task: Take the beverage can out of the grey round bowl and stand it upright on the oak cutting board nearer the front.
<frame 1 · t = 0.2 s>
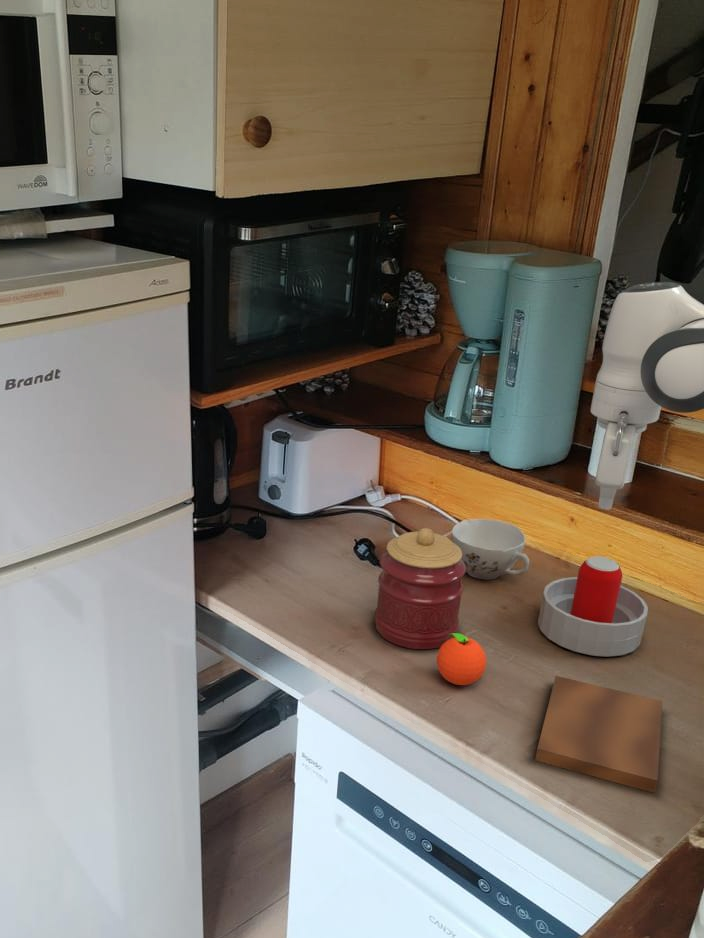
hand: (607, 495, 130), 25 cm above the counter, tool pointing down, fingers open, 8 cm apart
teacup: (488, 576, 161), on the counter
beverage can: (588, 631, 143), resting on grey round bowl
kitchen canister: (415, 630, 144), on the counter
cutting board: (599, 735, 120), on the counter
grey round bowl: (587, 632, 143), on the counter
clementine: (456, 680, 132), on the counter
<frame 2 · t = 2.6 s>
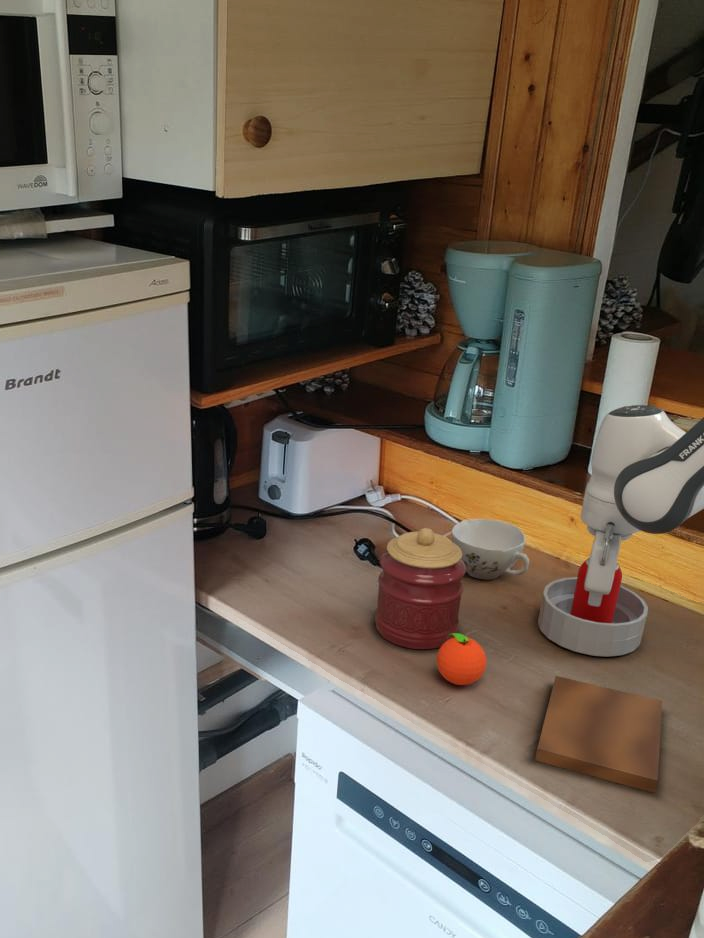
hand: (596, 593, 140), 7 cm above the counter, tool pointing down, fingers closed on beverage can, 6 cm apart
beverage can: (588, 631, 143), resting on grey round bowl, touching gripper
everything else where it was.
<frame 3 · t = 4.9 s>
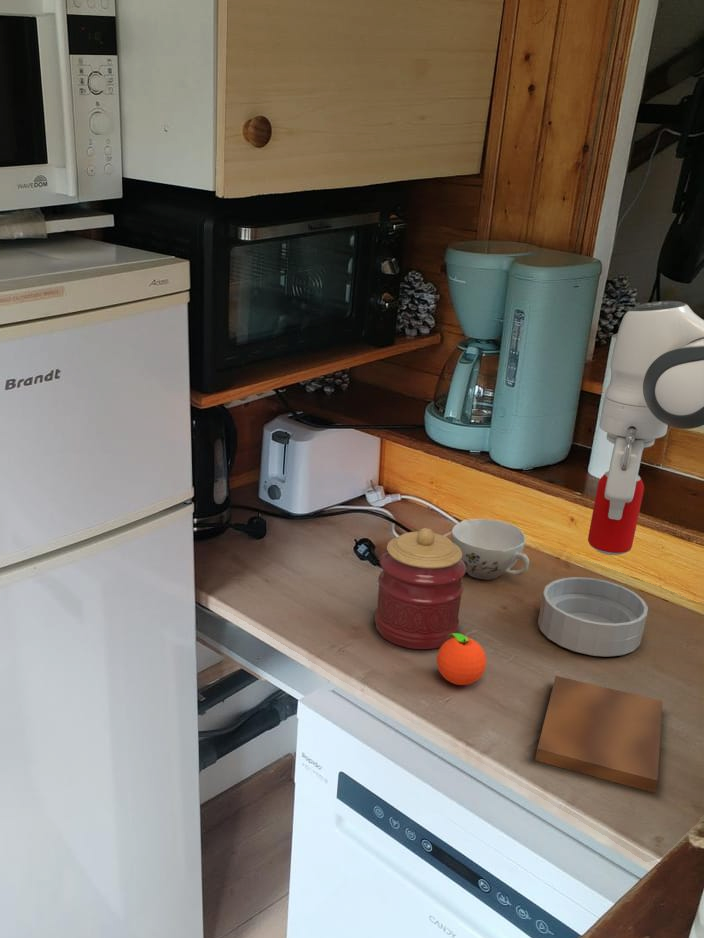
hand: (616, 508, 133), 22 cm above the counter, tool pointing down, fingers closed on beverage can, 6 cm apart
beverage can: (608, 550, 136), point 15 cm above the counter, touching gripper
everything else where it was.
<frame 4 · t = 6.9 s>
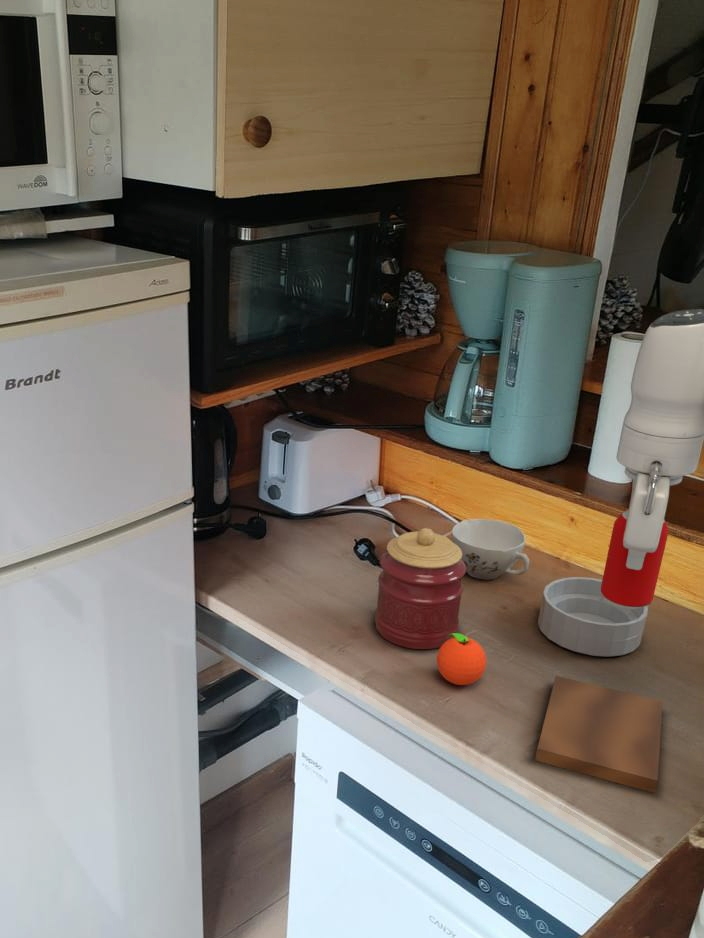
hand: (635, 554, 113), 25 cm above the counter, tool pointing down, fingers closed on beverage can, 6 cm apart
beverage can: (624, 602, 116), point 18 cm above the counter, touching gripper
everything else where it was.
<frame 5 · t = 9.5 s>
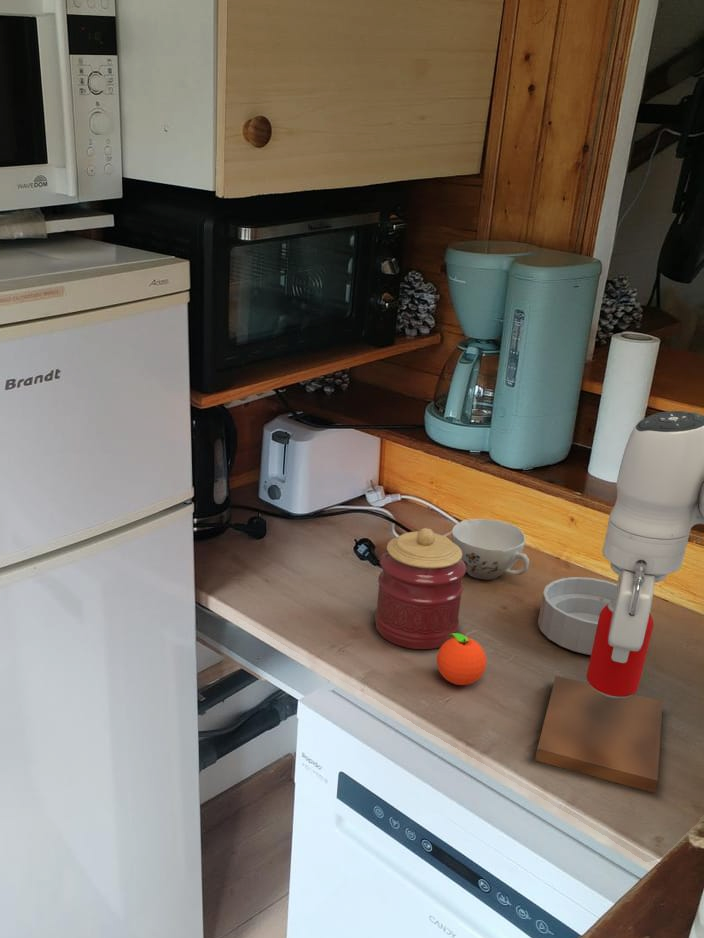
hand: (620, 644, 114), 14 cm above the counter, tool pointing down, fingers closed on beverage can, 6 cm apart
beverage can: (610, 689, 117), point 7 cm above the counter, touching gripper
everything else where it was.
when the fingers open (9 cm above the counter, at t = 11.4 s): beverage can stays where it is, resting on cutting board.
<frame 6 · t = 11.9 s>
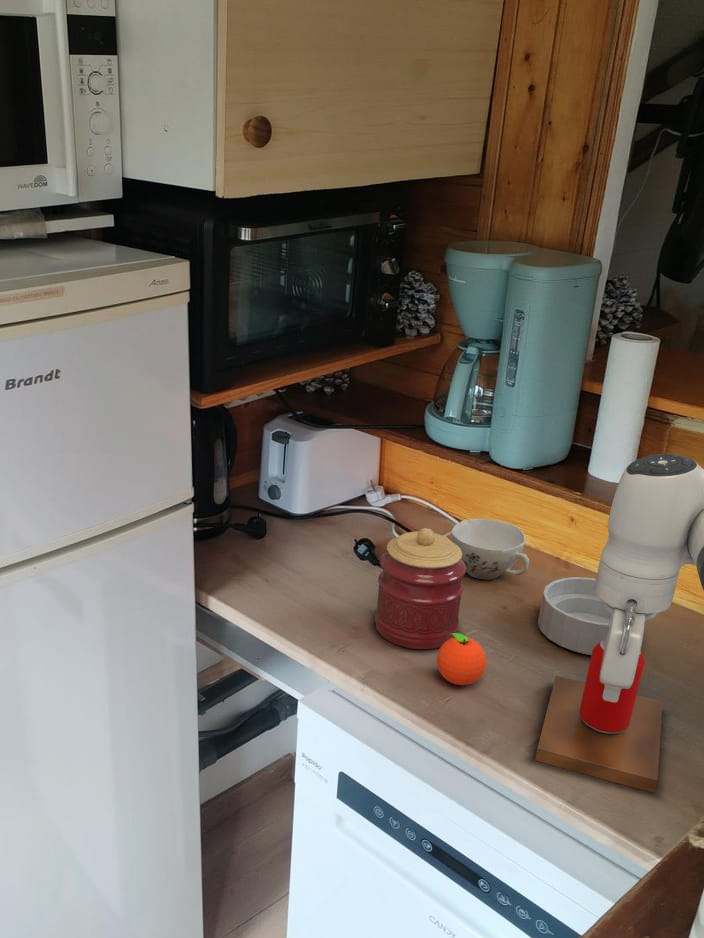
hand: (612, 679, 116), 9 cm above the counter, tool pointing down, fingers open, 8 cm apart
beverage can: (602, 724, 119), point 2 cm above the counter, touching cutting board
everything else where it was.
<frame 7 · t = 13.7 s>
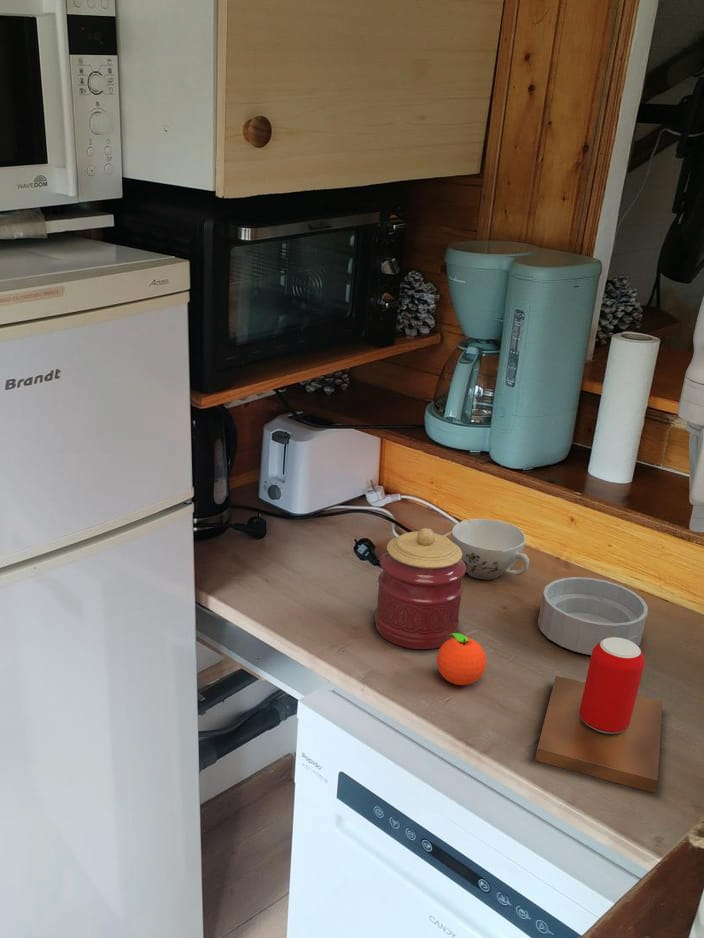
hand: (696, 514, 110), 31 cm above the counter, tool pointing down, fingers open, 8 cm apart
nothing on the counter moved.
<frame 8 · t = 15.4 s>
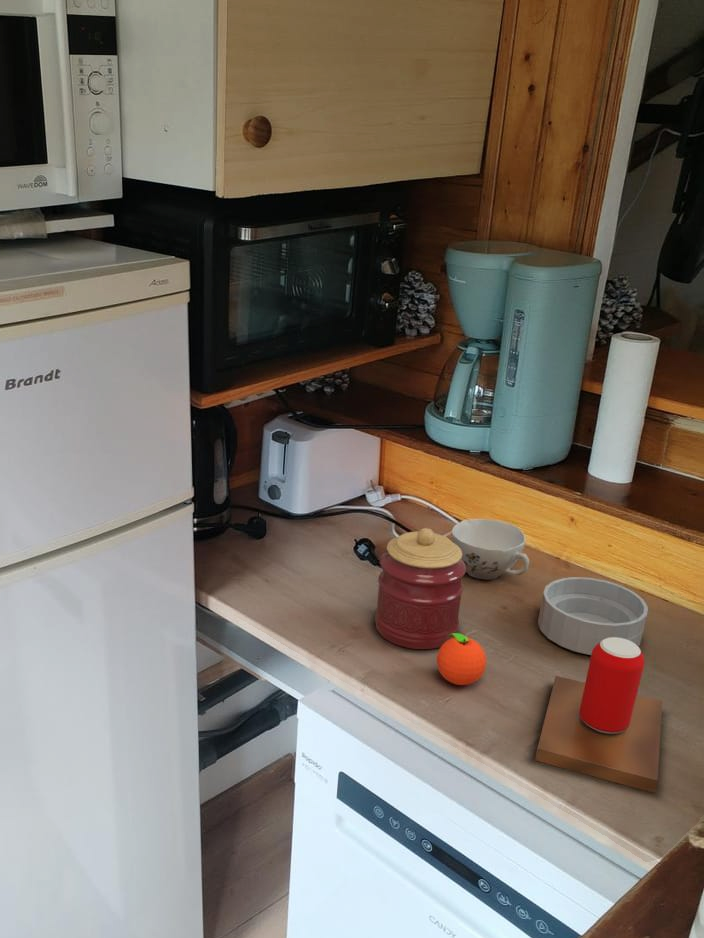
nothing on the counter moved.
at the end: beverage can inside the target area on the cutting board (0.0 cm from its centre), point 1.8 cm above the cutting board's base; beverage can tilted 0°; beverage can touching cutting board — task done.
